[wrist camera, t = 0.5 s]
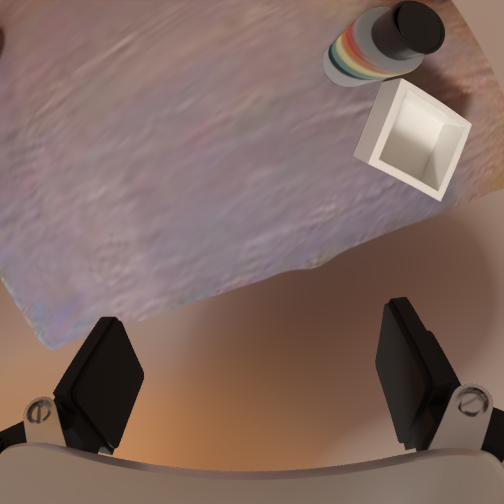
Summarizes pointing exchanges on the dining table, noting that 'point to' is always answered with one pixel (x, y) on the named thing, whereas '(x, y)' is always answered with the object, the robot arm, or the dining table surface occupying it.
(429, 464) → the robot arm
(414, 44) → the lotion bottle
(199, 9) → the dining table surface
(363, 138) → the caddy
